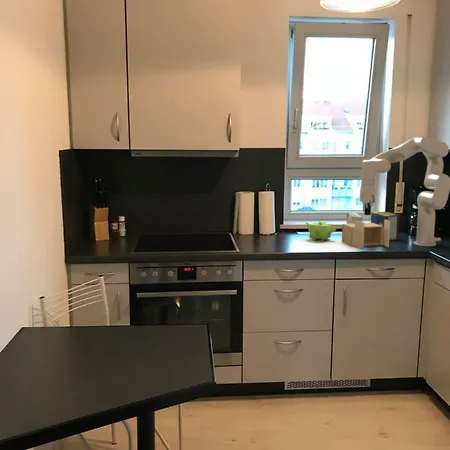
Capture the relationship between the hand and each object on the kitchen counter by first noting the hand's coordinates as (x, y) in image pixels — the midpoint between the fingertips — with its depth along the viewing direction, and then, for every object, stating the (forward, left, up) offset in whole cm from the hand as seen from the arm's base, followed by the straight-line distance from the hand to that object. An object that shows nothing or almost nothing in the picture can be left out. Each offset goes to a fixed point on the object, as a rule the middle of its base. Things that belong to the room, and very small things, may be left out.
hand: (367, 214), depth 298 cm
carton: (-5, -15, -20) cm, 25 cm away
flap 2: (-14, -3, -19) cm, 24 cm away
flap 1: (+3, -3, -19) cm, 20 cm away
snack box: (-8, -31, -20) cm, 38 cm away
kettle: (+15, -30, -20) cm, 39 cm away
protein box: (-27, -27, -20) cm, 43 cm away
